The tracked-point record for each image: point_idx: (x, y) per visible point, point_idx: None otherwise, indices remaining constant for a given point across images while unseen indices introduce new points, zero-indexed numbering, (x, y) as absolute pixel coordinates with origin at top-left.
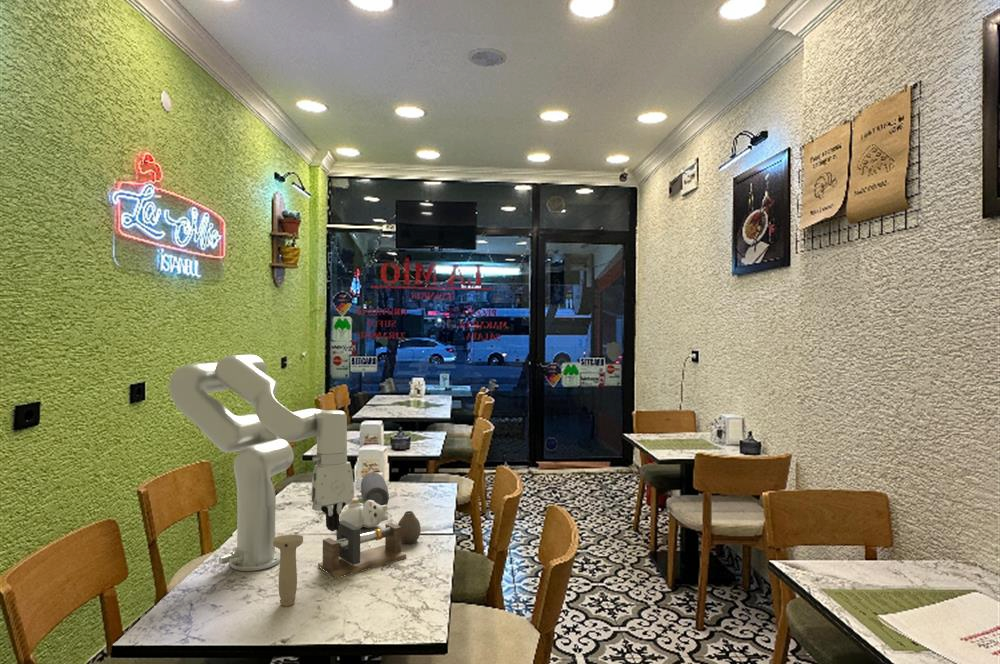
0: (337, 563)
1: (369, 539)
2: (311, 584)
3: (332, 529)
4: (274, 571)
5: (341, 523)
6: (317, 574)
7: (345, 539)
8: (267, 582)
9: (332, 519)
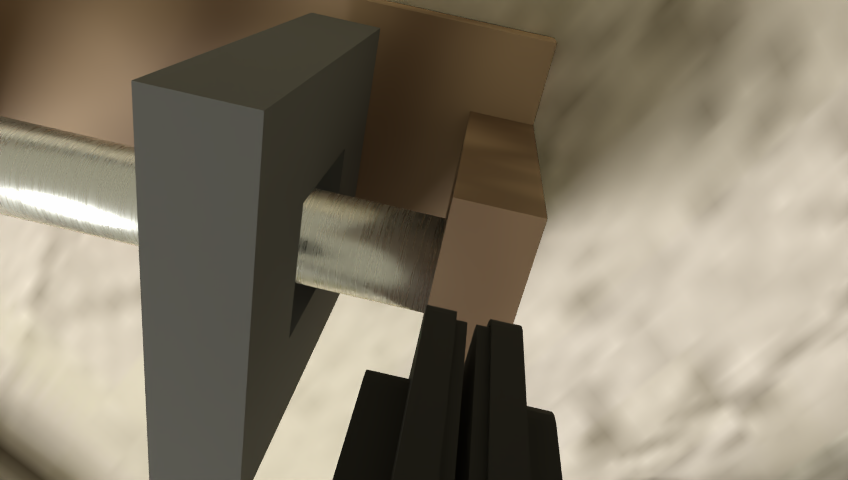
0: (481, 128)
1: (63, 131)
2: (740, 109)
3: (517, 347)
4: (678, 445)
5: (229, 439)
6: (572, 215)
7: (312, 240)
8: (841, 367)
9: (527, 478)
